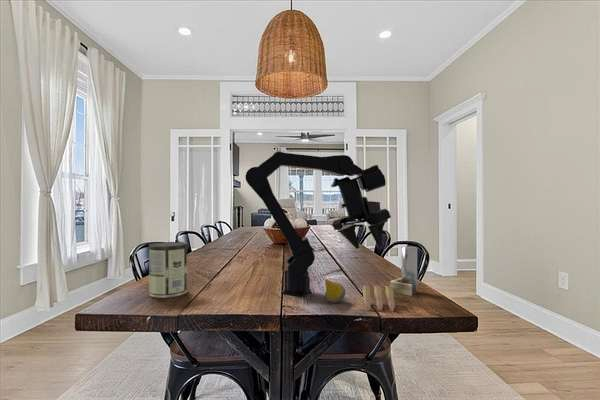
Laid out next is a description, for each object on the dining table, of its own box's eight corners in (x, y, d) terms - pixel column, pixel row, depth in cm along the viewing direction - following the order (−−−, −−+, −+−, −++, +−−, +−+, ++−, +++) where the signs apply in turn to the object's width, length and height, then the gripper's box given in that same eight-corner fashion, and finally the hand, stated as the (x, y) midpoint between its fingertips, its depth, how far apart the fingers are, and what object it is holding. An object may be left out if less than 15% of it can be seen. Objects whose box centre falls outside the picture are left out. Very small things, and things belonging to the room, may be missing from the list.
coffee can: (164, 287, 109) (164, 241, 109) (194, 290, 106) (194, 242, 106) (140, 296, 99) (140, 245, 99) (172, 299, 96) (173, 246, 96)
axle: (398, 291, 106) (398, 247, 106) (406, 289, 109) (406, 246, 109) (412, 294, 102) (412, 248, 102) (420, 291, 105) (420, 247, 106)
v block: (395, 296, 101) (395, 285, 101) (385, 287, 110) (385, 278, 110) (413, 295, 101) (413, 285, 101) (402, 287, 110) (402, 278, 110)
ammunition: (363, 283, 95) (364, 291, 87) (391, 285, 94) (396, 292, 86) (362, 301, 95) (364, 311, 87) (391, 303, 94) (395, 312, 86)
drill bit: (351, 304, 94) (337, 283, 88) (332, 311, 95) (317, 291, 89) (346, 288, 98) (332, 267, 92) (329, 295, 99) (314, 275, 93)
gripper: (393, 184, 103) (410, 235, 103) (349, 195, 118) (363, 240, 118) (368, 194, 96) (386, 249, 97) (324, 205, 111) (340, 252, 112)
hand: (368, 247), depth 106 cm, fingers open, 9 cm apart
